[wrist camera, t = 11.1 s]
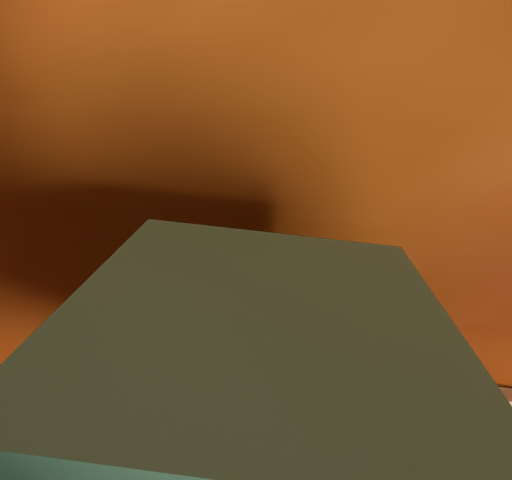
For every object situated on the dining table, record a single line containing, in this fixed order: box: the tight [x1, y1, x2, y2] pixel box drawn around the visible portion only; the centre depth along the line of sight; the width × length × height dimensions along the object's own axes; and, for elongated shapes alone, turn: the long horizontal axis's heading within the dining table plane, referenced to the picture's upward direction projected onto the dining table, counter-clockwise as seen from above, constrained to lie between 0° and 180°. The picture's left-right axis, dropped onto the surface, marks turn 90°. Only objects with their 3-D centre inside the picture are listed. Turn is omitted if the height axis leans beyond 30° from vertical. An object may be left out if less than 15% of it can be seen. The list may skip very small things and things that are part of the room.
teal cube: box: [0, 219, 512, 480], centre depth 6 cm, size 5×5×5 cm
